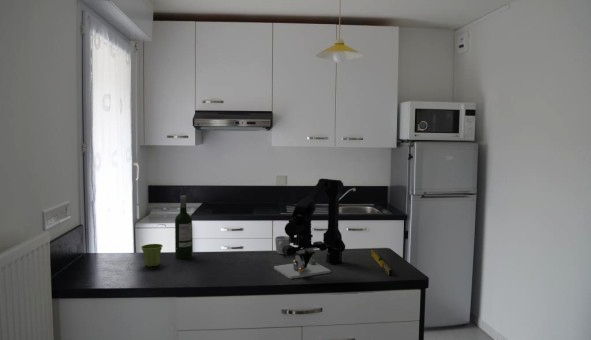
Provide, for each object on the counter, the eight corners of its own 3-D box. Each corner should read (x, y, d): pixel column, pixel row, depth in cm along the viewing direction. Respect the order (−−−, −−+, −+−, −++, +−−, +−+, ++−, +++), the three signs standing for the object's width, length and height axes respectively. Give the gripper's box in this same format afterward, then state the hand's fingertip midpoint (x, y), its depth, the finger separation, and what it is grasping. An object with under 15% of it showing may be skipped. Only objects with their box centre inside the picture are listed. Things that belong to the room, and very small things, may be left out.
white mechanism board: (311, 262, 201) (311, 254, 201) (330, 272, 186) (330, 264, 186) (273, 268, 191) (273, 259, 191) (290, 279, 177) (290, 270, 177)
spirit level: (370, 255, 216) (370, 249, 216) (373, 255, 216) (373, 249, 216) (388, 276, 183) (389, 269, 183) (391, 276, 183) (392, 269, 183)
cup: (287, 257, 209) (287, 241, 209) (271, 256, 211) (272, 240, 210) (291, 251, 220) (292, 236, 219) (277, 250, 221) (277, 235, 221)
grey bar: (302, 263, 195) (302, 255, 195) (307, 275, 178) (307, 266, 177) (291, 263, 194) (291, 255, 194) (295, 275, 177) (295, 267, 177)
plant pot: (136, 266, 191) (136, 247, 191) (151, 260, 200) (150, 242, 199) (153, 268, 188) (153, 249, 187) (167, 263, 197) (167, 244, 196)
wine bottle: (183, 259, 202) (182, 197, 200) (171, 257, 207) (171, 196, 204) (195, 256, 209) (195, 195, 207) (184, 253, 213) (183, 194, 211)
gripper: (315, 226, 190) (315, 260, 192) (277, 230, 183) (277, 265, 184) (327, 230, 180) (327, 266, 182) (287, 235, 173) (287, 273, 174)
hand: (305, 267), depth 181 cm, fingers closed
